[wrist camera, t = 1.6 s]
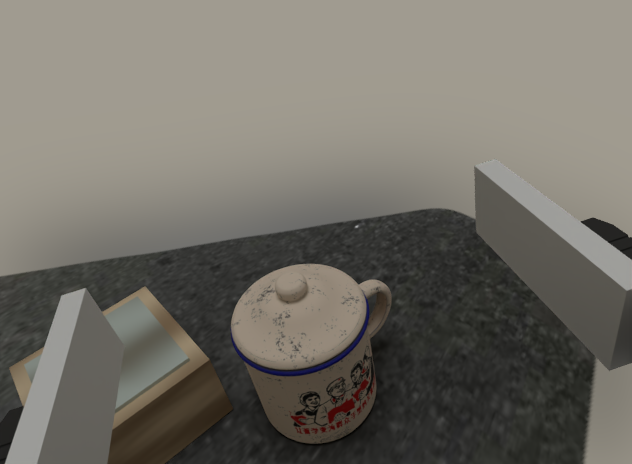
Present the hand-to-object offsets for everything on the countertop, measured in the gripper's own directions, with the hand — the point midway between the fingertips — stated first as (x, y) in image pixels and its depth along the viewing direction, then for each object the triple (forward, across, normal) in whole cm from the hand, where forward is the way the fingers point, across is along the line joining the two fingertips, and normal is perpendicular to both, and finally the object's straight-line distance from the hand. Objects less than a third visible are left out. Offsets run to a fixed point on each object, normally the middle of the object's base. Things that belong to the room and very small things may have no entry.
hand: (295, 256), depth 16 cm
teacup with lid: (+11, 0, -21) cm, 24 cm away
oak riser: (+14, -15, -20) cm, 28 cm away
